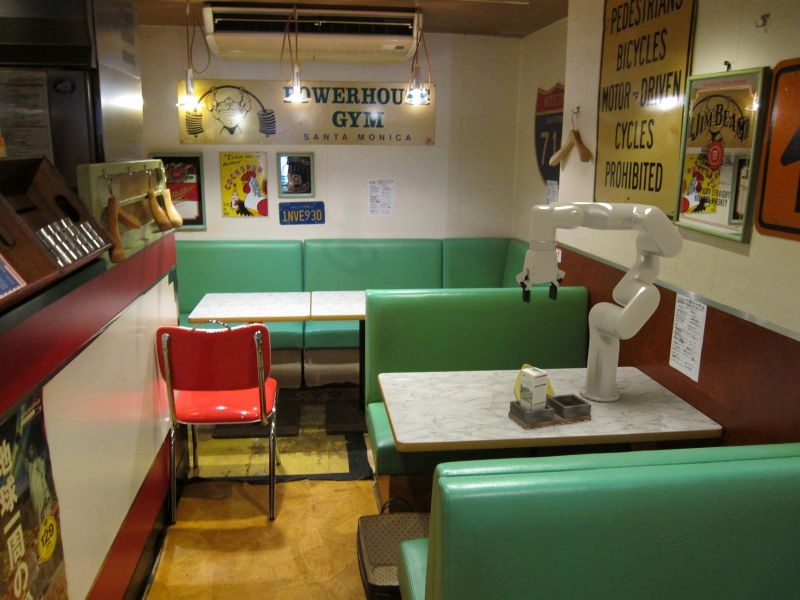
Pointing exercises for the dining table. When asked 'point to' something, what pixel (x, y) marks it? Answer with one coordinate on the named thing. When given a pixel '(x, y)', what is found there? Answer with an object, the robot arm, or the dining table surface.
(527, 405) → the syrup box
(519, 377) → the plastic component
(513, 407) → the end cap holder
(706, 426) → the dining table surface
